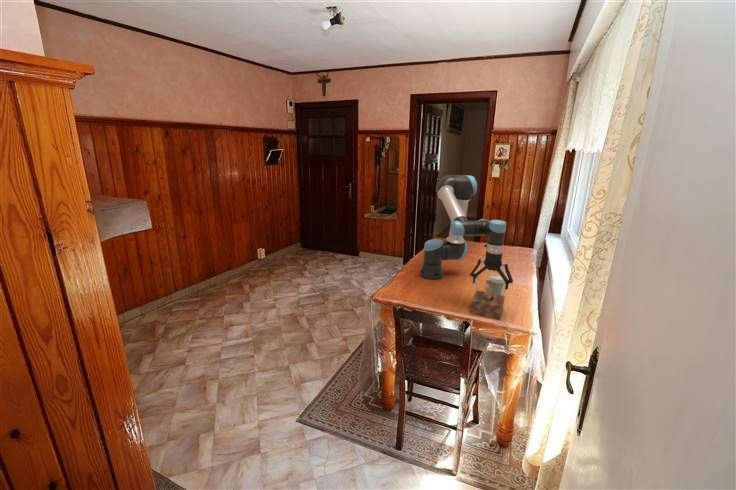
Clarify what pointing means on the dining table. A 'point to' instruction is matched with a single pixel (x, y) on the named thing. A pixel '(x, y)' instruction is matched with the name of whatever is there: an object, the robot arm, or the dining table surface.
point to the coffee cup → (496, 284)
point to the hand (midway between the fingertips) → (489, 292)
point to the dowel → (488, 290)
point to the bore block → (487, 305)
